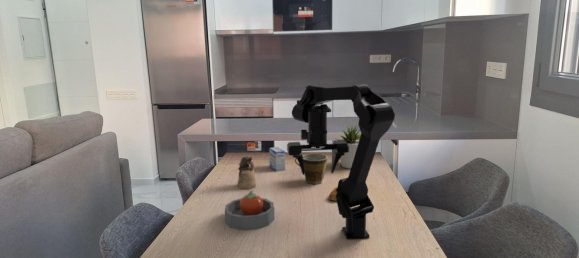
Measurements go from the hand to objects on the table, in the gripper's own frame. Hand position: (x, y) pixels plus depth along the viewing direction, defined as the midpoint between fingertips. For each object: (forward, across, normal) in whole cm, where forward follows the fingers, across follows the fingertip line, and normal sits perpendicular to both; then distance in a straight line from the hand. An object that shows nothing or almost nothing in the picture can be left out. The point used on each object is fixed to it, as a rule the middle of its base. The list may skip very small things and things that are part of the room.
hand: (317, 173), depth 125 cm
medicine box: (+13, +10, -47) cm, 50 cm away
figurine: (+13, +23, -27) cm, 38 cm away
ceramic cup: (+13, -2, -29) cm, 32 cm away
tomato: (+12, +21, +2) cm, 24 cm away
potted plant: (+13, -22, -45) cm, 52 cm away
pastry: (+13, -10, -11) cm, 20 cm away
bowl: (+13, +22, +2) cm, 25 cm away
